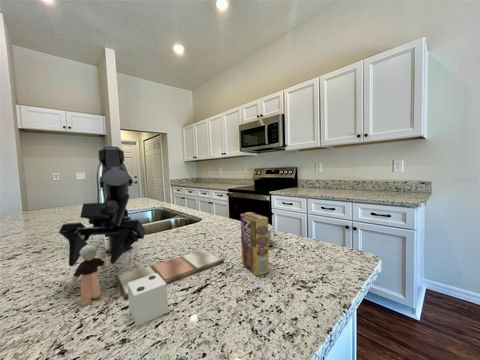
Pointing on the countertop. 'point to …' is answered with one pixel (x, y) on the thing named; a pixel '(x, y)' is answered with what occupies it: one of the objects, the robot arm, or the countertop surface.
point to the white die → (147, 298)
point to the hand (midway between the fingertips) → (91, 264)
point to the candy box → (255, 243)
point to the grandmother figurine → (89, 275)
